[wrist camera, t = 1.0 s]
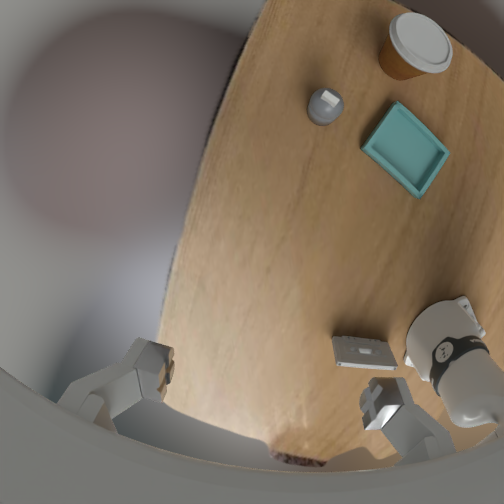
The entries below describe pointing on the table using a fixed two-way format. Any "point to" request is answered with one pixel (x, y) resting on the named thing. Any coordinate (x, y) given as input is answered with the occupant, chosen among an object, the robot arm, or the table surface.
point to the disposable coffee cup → (414, 47)
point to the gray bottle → (325, 106)
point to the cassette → (363, 353)
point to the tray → (406, 149)
